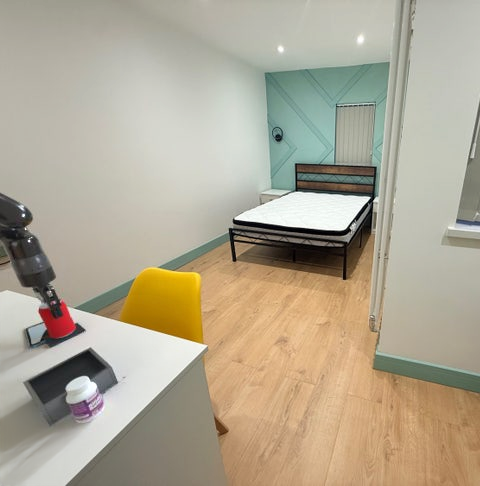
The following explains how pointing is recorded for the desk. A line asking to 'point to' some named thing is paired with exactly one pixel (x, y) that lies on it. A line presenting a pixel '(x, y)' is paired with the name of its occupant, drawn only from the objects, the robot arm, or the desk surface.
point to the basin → (59, 376)
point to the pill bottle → (84, 399)
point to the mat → (55, 341)
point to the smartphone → (36, 334)
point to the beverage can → (57, 321)
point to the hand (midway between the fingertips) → (54, 313)
